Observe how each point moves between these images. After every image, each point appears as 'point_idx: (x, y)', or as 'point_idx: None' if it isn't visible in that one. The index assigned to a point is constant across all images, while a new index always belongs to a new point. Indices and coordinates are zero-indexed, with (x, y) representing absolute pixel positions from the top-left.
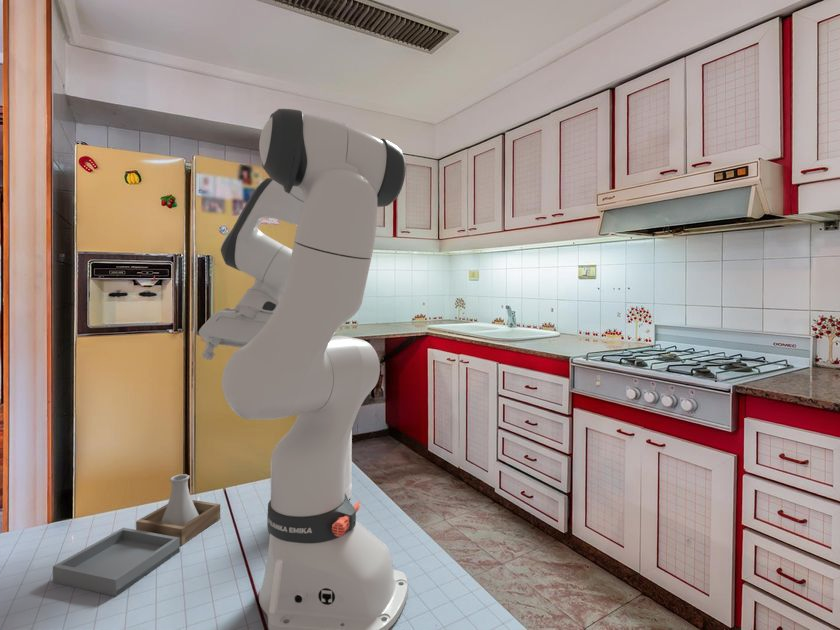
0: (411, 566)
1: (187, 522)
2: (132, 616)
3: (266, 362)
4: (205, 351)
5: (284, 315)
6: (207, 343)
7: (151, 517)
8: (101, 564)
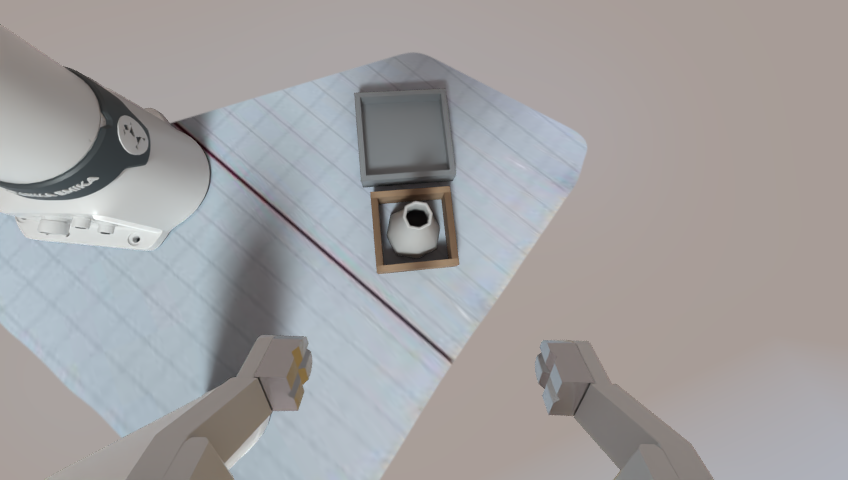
0: (30, 268)
1: (392, 223)
2: (312, 88)
3: None
4: (586, 361)
5: None
6: (653, 426)
7: (445, 207)
8: (418, 127)
